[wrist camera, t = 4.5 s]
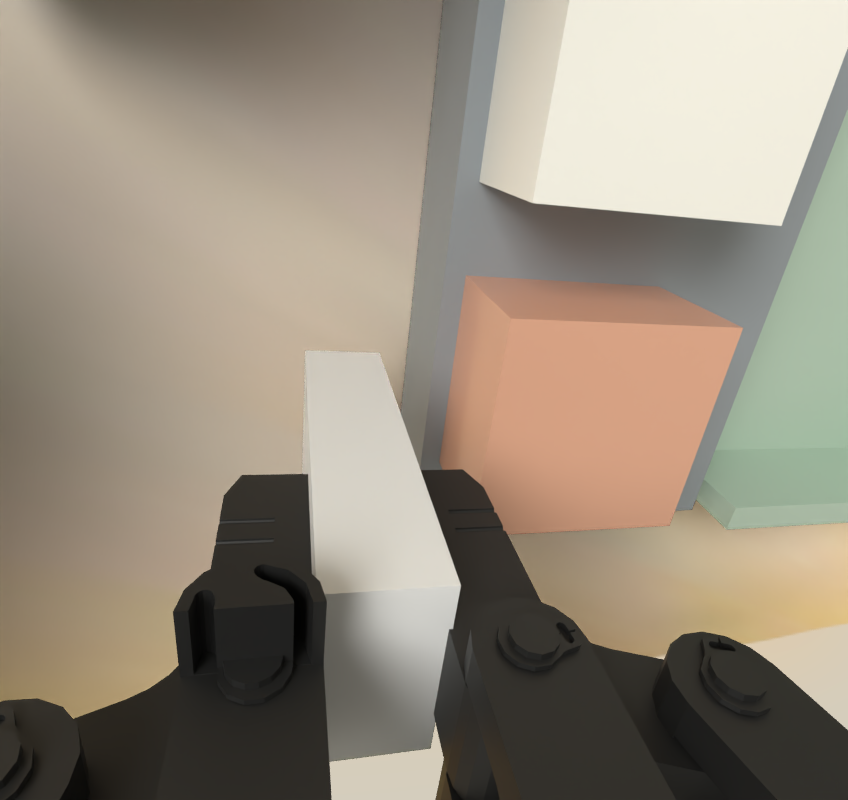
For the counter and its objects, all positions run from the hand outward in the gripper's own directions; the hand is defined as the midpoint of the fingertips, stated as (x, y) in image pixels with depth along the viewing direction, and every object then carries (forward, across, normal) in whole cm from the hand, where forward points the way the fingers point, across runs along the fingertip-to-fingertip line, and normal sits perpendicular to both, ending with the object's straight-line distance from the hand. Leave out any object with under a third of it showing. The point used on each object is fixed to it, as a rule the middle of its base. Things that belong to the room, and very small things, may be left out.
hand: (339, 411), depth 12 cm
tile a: (+2, +5, 0) cm, 6 cm away
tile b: (+2, +5, +7) cm, 9 cm away
